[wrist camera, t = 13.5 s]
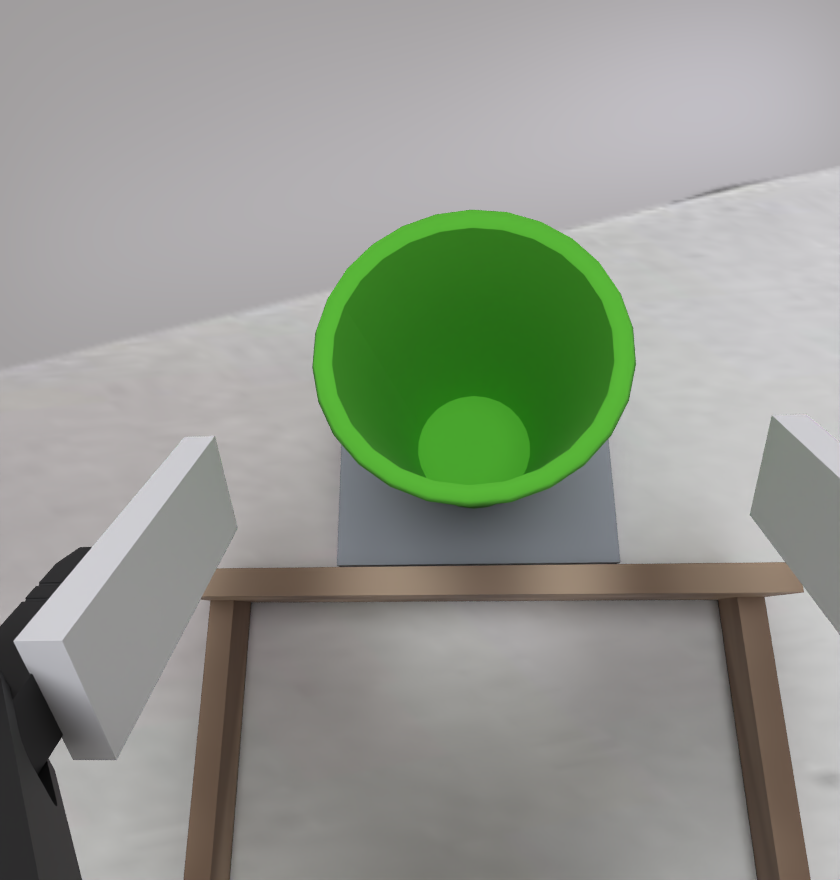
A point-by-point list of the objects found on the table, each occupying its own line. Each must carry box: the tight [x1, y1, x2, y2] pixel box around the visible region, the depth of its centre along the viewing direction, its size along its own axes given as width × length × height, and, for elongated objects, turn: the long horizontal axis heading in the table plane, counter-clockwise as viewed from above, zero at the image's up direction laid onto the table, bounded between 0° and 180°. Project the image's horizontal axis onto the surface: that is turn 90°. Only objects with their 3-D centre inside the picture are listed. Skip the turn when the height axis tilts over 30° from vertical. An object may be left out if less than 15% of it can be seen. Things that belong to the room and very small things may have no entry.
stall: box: [184, 562, 811, 880], centre depth 22 cm, size 22×14×5 cm, turn 90°
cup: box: [312, 210, 636, 509], centre depth 22 cm, size 9×9×11 cm
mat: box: [337, 440, 620, 567], centre depth 28 cm, size 12×10×1 cm
